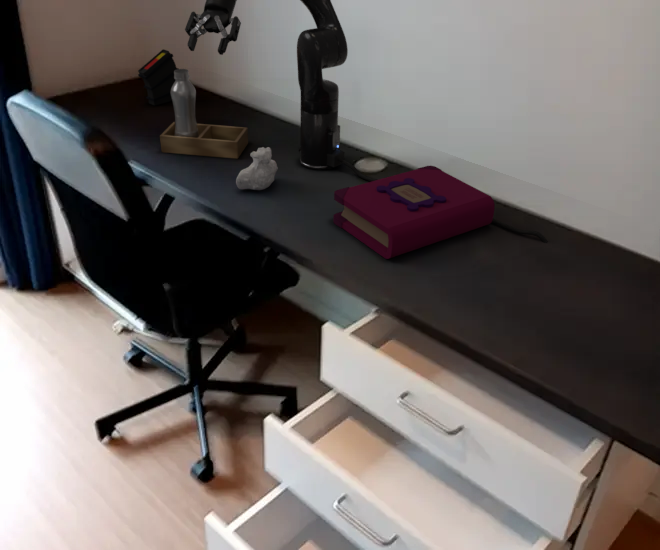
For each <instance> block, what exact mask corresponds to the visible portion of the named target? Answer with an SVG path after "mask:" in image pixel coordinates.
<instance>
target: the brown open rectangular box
mask: <svg viewBox="0 0 660 550" xmlns="http://www.w3.org/2000/svg"><path fill="white" fill-rule="evenodd" d="M197 128H198V131H199V137H198V138H194V137H182V136H174V135H175V121H172V123H171V124H170V125H169V126H168V127H166V129H165V130H164V131H163V132H162V133H161V134H160V135H159V140H160V141H159V142H160V151H161V153H166V154H168V153H170V154H178V155H189V156H190V155H191V156H201V157H203V156H204V157H212V158H225V159H237V160H238V159H239V158H240V156H241V155H242V153H243V152H244V150H245V149H246V147H247V146H248V145H249V132H248V131H249V130H248V129H249V128H248V127H245V126H233V125H232V126H231V125H220V124H207V123H205V124H204V123H197Z"/></svg>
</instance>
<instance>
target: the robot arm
mask: <svg viewBox="0 0 660 550" xmlns="http://www.w3.org/2000/svg"><path fill="white" fill-rule="evenodd" d="M237 1H238V0H205V3H204V6H203V11H202V13H201V14H198V13H196V11H191V12H190V15H189V17H188V20H187V23H186V25H185V28H184V31H185V32H186V34H187V36H188V37H189V38H188V41H187V47H188V49H189V51H190V52H195V49H196V46H197V42H198V39H199V38H200V37H201V36H202V35H205V34H207V33H214V34H219V33H220V34H221V36H222V37H221V38H220V41H219V44H218V47H217V53H218V55H220V56H223V55H224V54H225V53H226V51H227V48H228V45H229V43H230V42H235V43H236V41H238V37H239V33H240V30H241V29H240V28H241V24H242V21H241V20H240V19H239V17H238V16H237V15H235V16H234V17H232V16H233V14H234V10H235V8H236V5H237ZM299 1H300V2H301V3H302V4H303V5H304V6H305V7H306V8H307V10H308V12H309V13H310V15H311V17H312V18H313V22H314V23H315V26H316V28H315V27H314V28H309V29H305V30H302V31H301V32H300V34H299V35H298V37H297V40H296V41H297V42H296V62H297V63H296V65H297V80H298V82H297V83H298V86H299V90H300V131H299V132H300V139H299V140H300V144H299V145H300V146H299V147H298V152H299V156H300V158H299V164H300V165H301V166H303V167H305V168H307V169H311V170H333V169H334V168H336V167H338V166H341V165H345V166H346V167H348V168H349V169H351V170H352V172H353V173H354V174H355V175H356V176H358V177H359V178H361V179H362V180H364V181H367V182H372V181H375V180H379V179H377V178H373V177H370V176H367V175H365V174H363V173H362V172H360V171H359V170H358V169H357V167H356V166H355V165H353V164H352V163H351V162H349V161H347V160H345V155H346V154H345V153H346V152H345V151H344V150H341V147H340V145H341V125H340V124H339V97H340V95H339V94H340V93H339V92H340V90H339V89H340V88H339V85H338V84H337V83H336V82H334V81H331V80H328V79H326V78H325V79H324V77H323V70H325V69H330V68H335V67H339V66H342V65H343V64H344V63H346V61H347V59H348V53H349V52H348V51H349V50H348V42H347V39H346V36H345V31H344V29H343V27H342V25H341V22H340V20H339V17H338V15H337V13H336V11H335V7H334V6H333V3H332V0H299ZM229 25H231V28H230V30H229V33H228V32H227V29H226V28H228V26H229ZM202 27H203V28H202ZM492 223H493V224H494V225H496V226H498V227H501V228H503V229H506V230H508V231H510V232H513V233H516V234H519V235H524V236H526V235H527V236H535V237H536V238H538V239H540V240H541V242H542V243H545V244H548V240H547V238H546V237H545V236H544V235H543V234H542V233H541V232H539V231H536V230H529V229H521V228H517V227H514V226H512V225H509V224H508V223H505V222H502V221H500V220H498V219H496V218H494V217H493V220H492V222H491V224H492Z"/></svg>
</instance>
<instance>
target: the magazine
mask: <svg viewBox="0 0 660 550" xmlns="http://www.w3.org/2000/svg"><path fill="white" fill-rule="evenodd" d="M173 57H174V54H173V53H171V52H170V51H169V50H167V49H161V50H160V51H159V52H158V53H157V54H156V55H154V56H153V57H151V59H149V60H148V61H147V62H146V63H145V64H143V65H142V66H141V67H140V68H139V69H138V70H137V72H138V74H137V75H138V77H139V78H141V79H142V80H143V83H144V85H143V88H144V89H146V93H147V96H146V97H145V99H146V100H148V104H149V105H152V106H159V105H162V104H166V103H170V102H172V98H171V93H170V92H171V88H172V86H173V84H174V82H175V81H176V79H174V71H175V70H177V69H180V68H178V67H177V66H176V62H175V60H174V58H173Z"/></svg>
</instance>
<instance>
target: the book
mask: <svg viewBox="0 0 660 550" xmlns="http://www.w3.org/2000/svg"><path fill="white" fill-rule="evenodd" d="M333 194H334V195H333V201H336V202H337V203H339V204H340V205H341V206H343V210H342V211H339V212H336V213H335V214H333V220H332V221H333V224H334V225H336V227H338V228H340V229H342V230H344V231H346V232H347V233H348V234H350V235H351V236H353V237H354V238H355V239H357V240H358V241H360V242H361V243H362V244H364V245H365V246H367V247H368V248H369V249H371V250H372V251H374V252H375V253H377V254H378V255H380V256H381V257H383V258H384V259H385V260H389V259H392V258H395V257H398V256H402V255H404V254H407V253H410V252H413V251H415V250H418V249H422V248H425V247H427V246H430V245H434V244H436V243H439V242H442V241H445V240H448V239H450V238H454V237H456V236H460V235H462V234H466V233H468V232H471V231H474V230H477V229H480V228H483V227H485V226H488V225H491V224H492V220H493V218H494V215H495V208H496V207H495V206H496V205H495V201H494V199H493V198H492V196H491V195H489V194H487V193H485V192H483V191H481V190H479V189H478V188H475V187H474V186H472V185H470V184H468V183H466V182H464V181H462V180H460V179H458V178H457V177H455V176H453V175H451V174H449V173H447V172H445V171H443V170H442V169H441V168H439V167H437V166H435V165H425V166H421V167H418V168H416V169H413V170H409V171H405V172H401V173H398V174H397V173H396V174H394V175H390V176H387V177H383V178H379V179H378V180H375V181H372V182H370V181H367V182H365V183H361V184H357V185H354V186H347V187H344V188H339V189H336V190H334V192H333Z"/></svg>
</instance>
